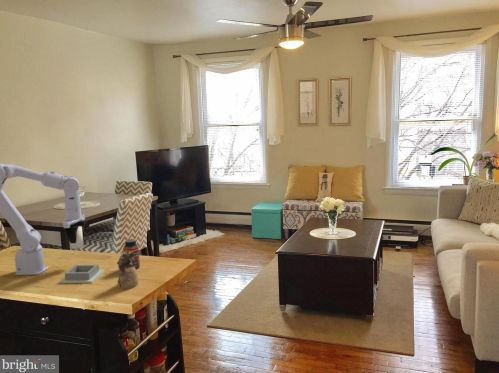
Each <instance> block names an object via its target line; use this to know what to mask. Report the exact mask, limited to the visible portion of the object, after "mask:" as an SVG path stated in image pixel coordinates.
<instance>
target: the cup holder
mask: <svg viewBox="0 0 499 373" xmlns="http://www.w3.org/2000/svg"><path fill="white" fill-rule="evenodd" d="M104 272H105V269H100V265H99V264H75V265H73V266H72V267H71V268H70V269H68V270H67V271H66V272H65V273H64V277H63V278H62V279H61V280H59V281H58V283H59V284H93V282H95V281H96V280H97V279H98V278H99V277H100V276H101V275H102V274H103V273H104Z"/></svg>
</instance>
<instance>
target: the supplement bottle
mask: <svg viewBox="0 0 499 373" xmlns="http://www.w3.org/2000/svg"><path fill="white" fill-rule="evenodd" d="M124 242H125V243H124V244H125V245H124V246H123V248H122V249H123V251H122V252H123V253H124V252H127V253H128V255H129V254H130V253H131V252H133V253H134V254H133V256H132V257H133V258H134V259H135V269H136V270H138V269H140V266H141V264H140V263H141V262H140V247H139V245H138V244H137V240H136V239H135V238H133V239H126V240H125V241H124ZM123 253H122V254H123ZM130 263H132V264H133V261H130Z"/></svg>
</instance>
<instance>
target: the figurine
mask: <svg viewBox="0 0 499 373" xmlns="http://www.w3.org/2000/svg"><path fill="white" fill-rule="evenodd" d="M133 254H134V253H133V252H131V253H130V254H129V255H128V253H127V252H124V253H122V254H121V255H120V257H119V258H118V261H117V262H116V264H117V266H118V270H119V271H118V278H117V288H119V289H121V290H125V289H132V288H135V287H137V286H138V284H139V276H138V272H137V269H135V259H134V258H133V257H132V256H133ZM130 261H133V264H132V263H130Z"/></svg>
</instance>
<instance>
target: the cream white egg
mask: <svg viewBox="0 0 499 373" xmlns="http://www.w3.org/2000/svg"><path fill="white" fill-rule="evenodd" d="M83 236H84V234H83V235H82V227H81V226H79V227H78V229H77V236H76V243H70V242H69V249H72V250H76V249H81V248H83V247H84V238H83Z"/></svg>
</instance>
